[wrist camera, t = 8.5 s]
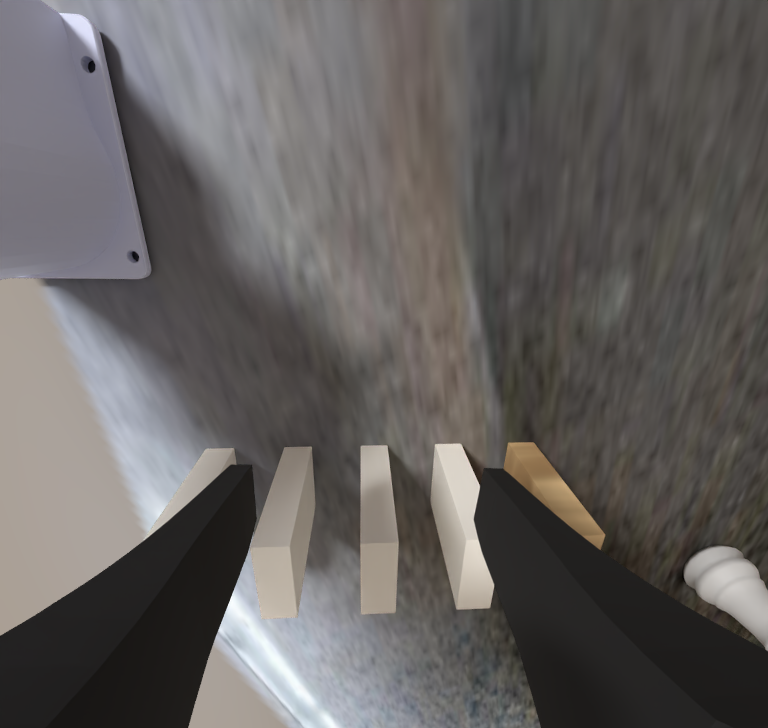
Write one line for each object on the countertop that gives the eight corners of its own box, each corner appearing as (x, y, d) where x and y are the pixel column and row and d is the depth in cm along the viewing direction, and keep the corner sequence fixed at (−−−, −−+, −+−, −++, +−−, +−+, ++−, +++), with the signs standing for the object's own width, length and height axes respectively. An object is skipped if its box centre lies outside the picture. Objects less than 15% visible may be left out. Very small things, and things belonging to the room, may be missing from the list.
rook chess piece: (690, 542, 26) (820, 669, 19) (747, 540, 26) (897, 664, 19) (670, 584, 28) (783, 717, 20) (724, 582, 28) (855, 712, 21)
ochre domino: (508, 442, 22) (569, 536, 15) (533, 442, 22) (605, 534, 16) (498, 499, 24) (550, 605, 17) (521, 498, 24) (582, 603, 17)
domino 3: (360, 445, 21) (360, 543, 15) (387, 445, 21) (398, 542, 15) (361, 503, 23) (361, 614, 16) (385, 502, 23) (395, 612, 17)
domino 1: (205, 448, 21) (135, 551, 14) (234, 448, 21) (176, 550, 14) (217, 507, 22) (158, 624, 16) (243, 506, 22) (195, 622, 16)
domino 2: (284, 447, 21) (249, 548, 15) (311, 446, 21) (289, 546, 15) (290, 505, 23) (261, 618, 16) (315, 504, 23) (297, 617, 16)
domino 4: (435, 444, 22) (466, 539, 15) (461, 443, 22) (503, 538, 15) (430, 501, 23) (456, 609, 17) (454, 500, 23) (490, 608, 17)
